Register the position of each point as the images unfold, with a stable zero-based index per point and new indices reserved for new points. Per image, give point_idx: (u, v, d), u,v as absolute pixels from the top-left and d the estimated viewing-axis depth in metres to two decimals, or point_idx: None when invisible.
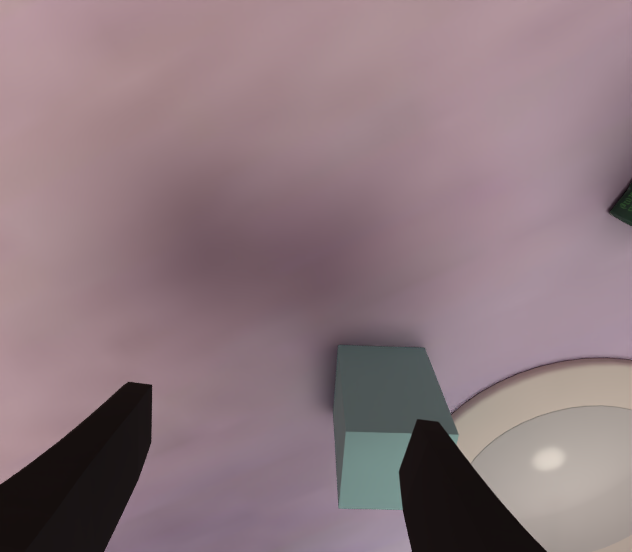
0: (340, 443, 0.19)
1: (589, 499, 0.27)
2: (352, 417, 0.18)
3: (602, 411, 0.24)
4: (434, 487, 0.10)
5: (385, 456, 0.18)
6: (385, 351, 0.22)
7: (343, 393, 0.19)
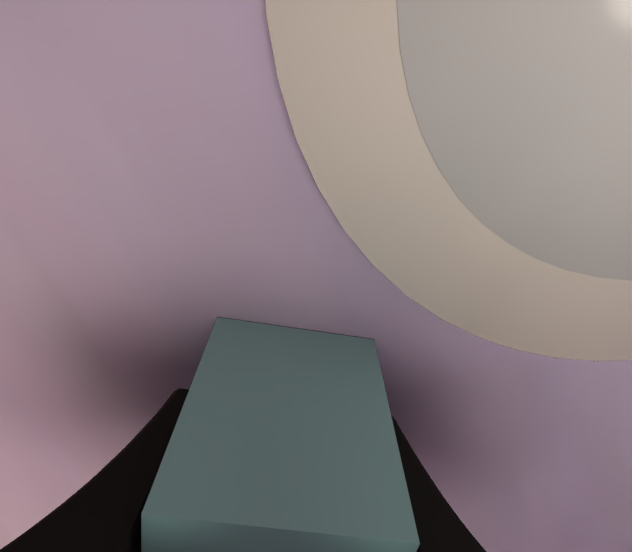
0: None
1: None
2: None
3: None
4: None
5: None
6: None
7: None
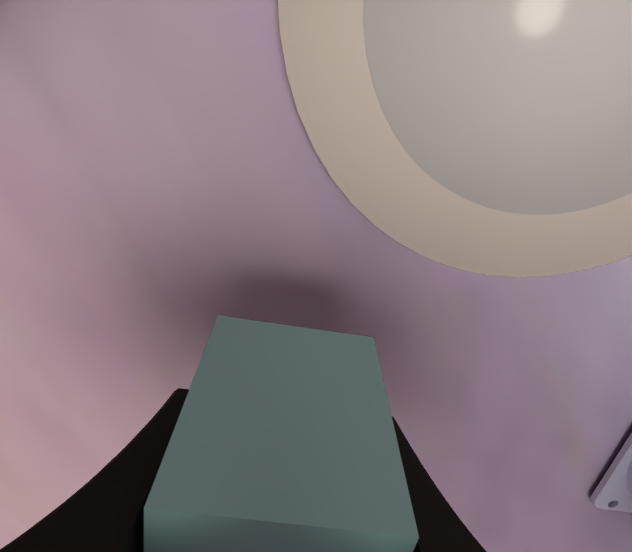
0: None
1: None
2: None
3: None
4: None
5: None
6: None
7: None
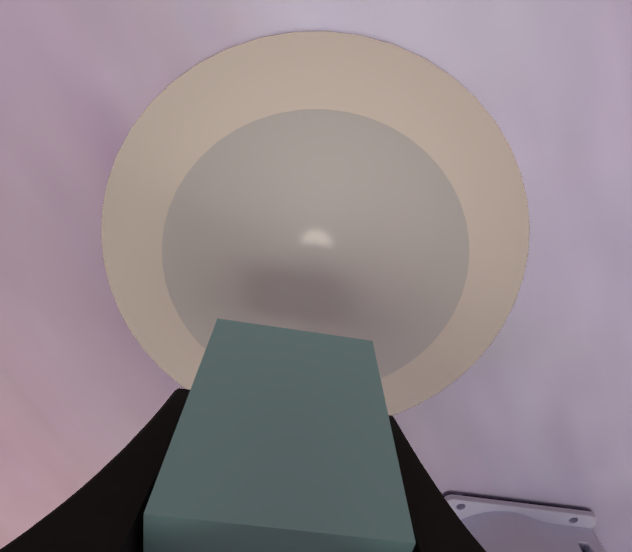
0: None
1: (338, 241, 0.18)
2: None
3: (170, 245, 0.18)
4: None
5: None
6: None
7: None
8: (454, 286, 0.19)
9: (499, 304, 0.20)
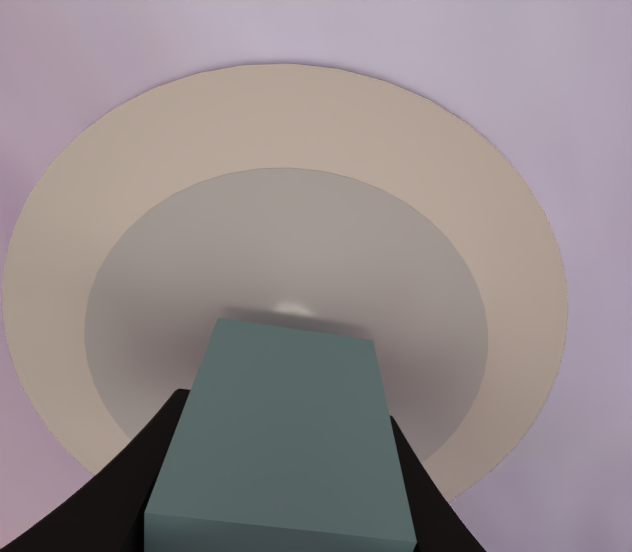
0: None
1: None
2: None
3: (95, 339, 0.14)
4: None
5: None
6: None
7: None
8: (468, 383, 0.15)
9: (525, 403, 0.15)
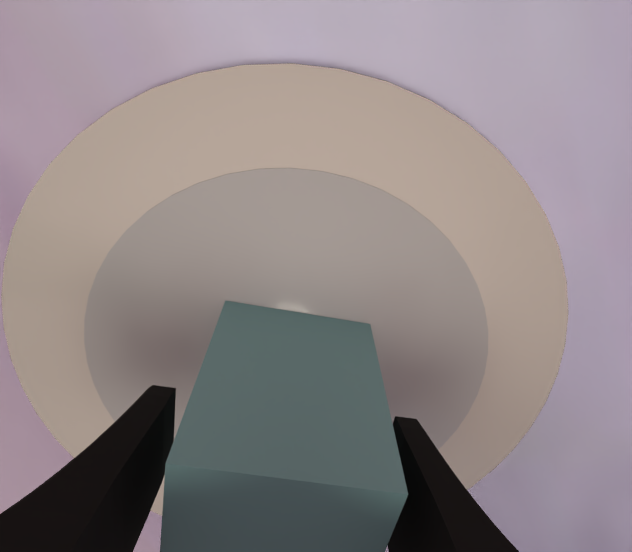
0: None
1: None
2: None
3: (95, 339, 0.14)
4: (409, 483, 0.10)
5: None
6: None
7: None
8: (469, 384, 0.15)
9: (525, 403, 0.15)
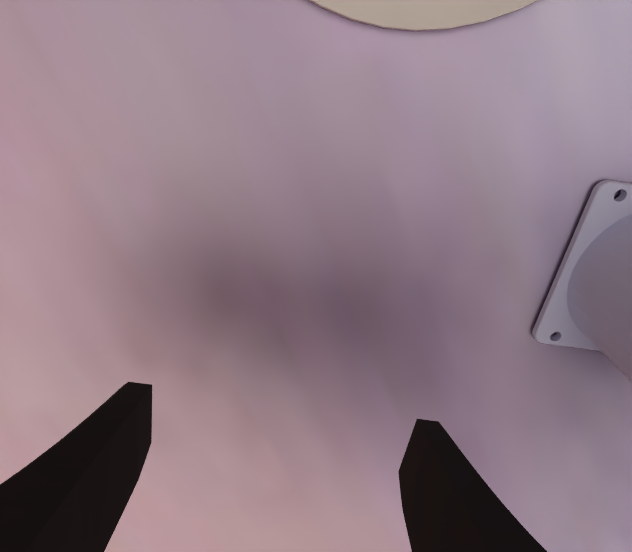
0: None
1: None
2: None
3: None
4: (434, 487, 0.10)
5: None
6: None
7: None
8: None
9: None
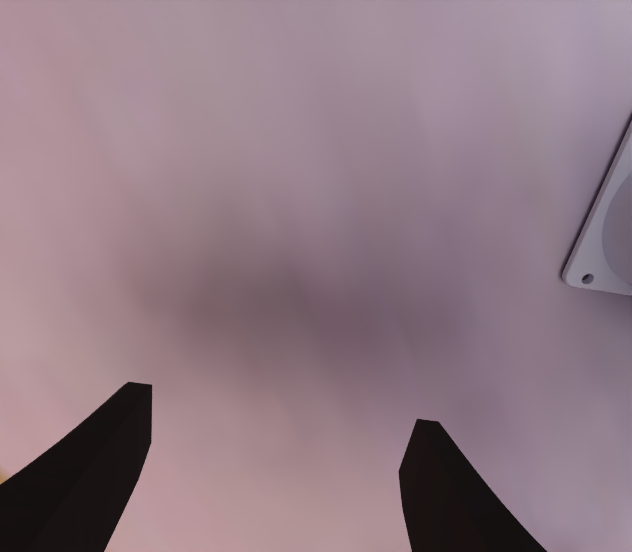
0: None
1: None
2: None
3: None
4: (434, 487, 0.10)
5: None
6: None
7: None
8: None
9: None
